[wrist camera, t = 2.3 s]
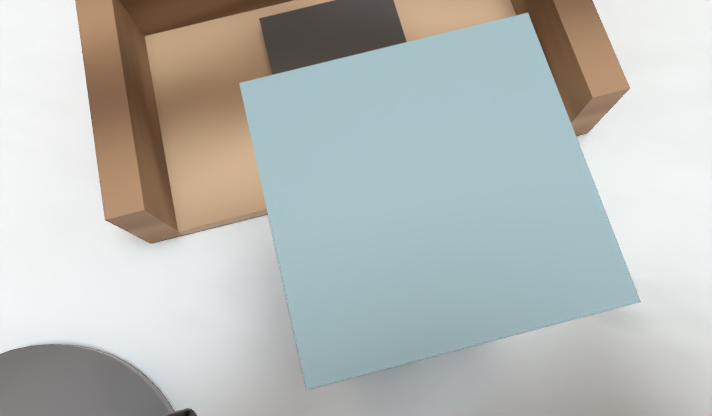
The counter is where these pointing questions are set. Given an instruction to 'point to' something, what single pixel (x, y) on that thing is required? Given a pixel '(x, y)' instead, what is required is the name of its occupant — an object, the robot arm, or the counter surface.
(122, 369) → the coaster
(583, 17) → the open-sided box
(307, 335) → the block
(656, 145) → the counter surface
